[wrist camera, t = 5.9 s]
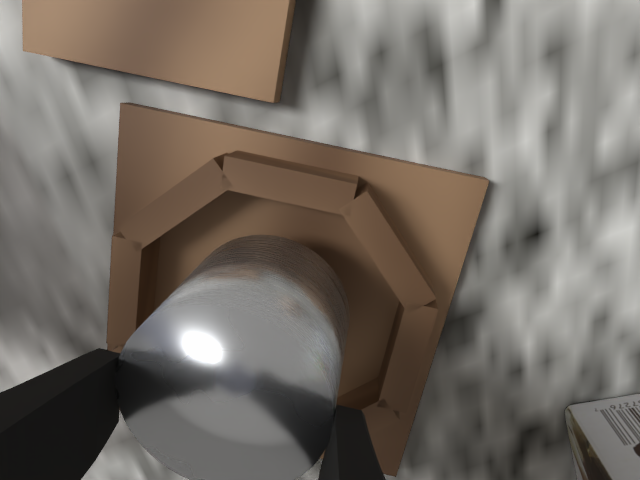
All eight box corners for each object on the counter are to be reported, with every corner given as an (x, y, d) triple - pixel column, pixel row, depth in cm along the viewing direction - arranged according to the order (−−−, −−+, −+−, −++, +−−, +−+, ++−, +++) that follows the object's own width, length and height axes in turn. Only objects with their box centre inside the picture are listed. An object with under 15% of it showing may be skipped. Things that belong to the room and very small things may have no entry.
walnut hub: (112, 397, 19) (84, 430, 18) (129, 102, 16) (95, 103, 14) (395, 464, 19) (397, 506, 17) (485, 177, 15) (500, 189, 13)
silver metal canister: (190, 364, 16) (120, 468, 12) (190, 223, 14) (108, 288, 10) (339, 391, 16) (320, 509, 11) (359, 248, 14) (346, 327, 10)
